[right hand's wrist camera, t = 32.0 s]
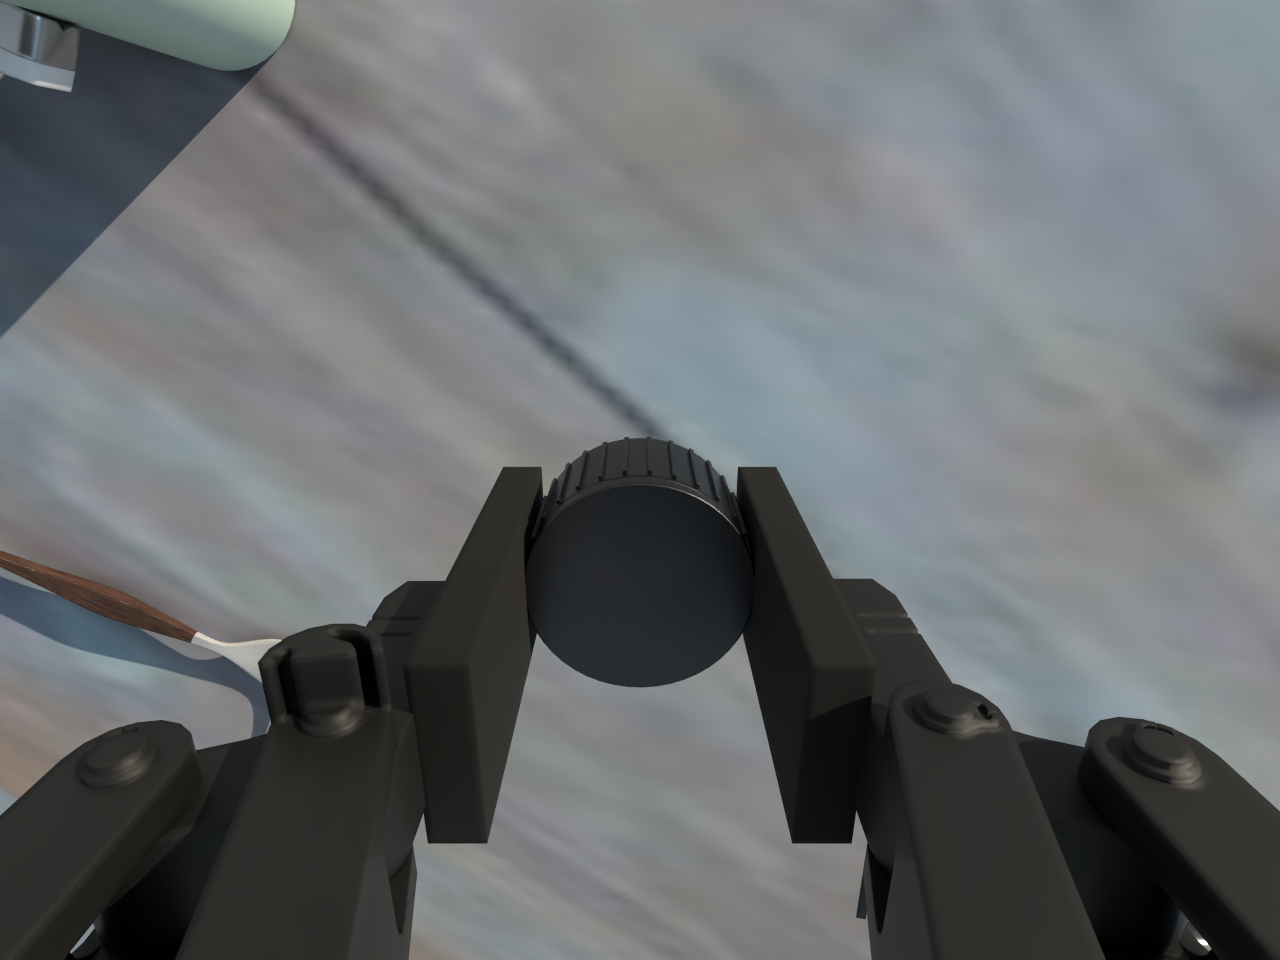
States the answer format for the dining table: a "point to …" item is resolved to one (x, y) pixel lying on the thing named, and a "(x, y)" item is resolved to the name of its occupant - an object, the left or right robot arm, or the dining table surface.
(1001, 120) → the dining table surface
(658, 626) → the cap
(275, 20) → the bottle
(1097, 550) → the dining table surface
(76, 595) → the fork
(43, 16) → the left robot arm
